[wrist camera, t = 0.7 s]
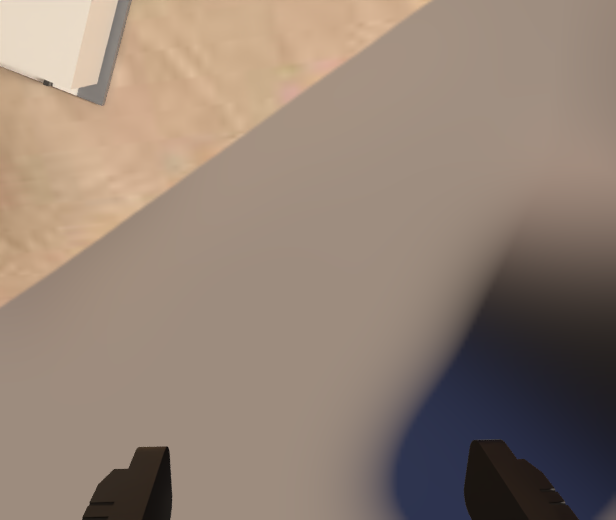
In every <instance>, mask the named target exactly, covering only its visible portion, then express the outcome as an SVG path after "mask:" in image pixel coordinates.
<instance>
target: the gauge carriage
mask: <svg viewBox="0 0 616 520" xmlns="http://www.w3.org/2000/svg"><path fill="white" fill-rule="evenodd" d="M117 3H118V0H0V62H1V63H3V64H6V65H8V66H11V67H14V68H16V69H19V70H21V71H24V72H26V73H29V74H31V75H34V76H37V77H39V78H42V79H44V82H43V84H44V85H46V86H51V83H55V84H57V85H60V86H62V87H65V88H67V89H70V90H72V89H76V88H81V87H85V86H90V85H94V84H97V82H98V78H99V74H100V70H101V66H102V62H103V58H104V54H105V50H106V46H107V42H108V38H109V35H110V31H111V27H112V23H113V19H114V15H115V11H116V7H117Z"/></svg>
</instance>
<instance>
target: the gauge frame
mask: <svg viewBox="0 0 616 520" xmlns="http://www.w3.org/2000/svg"><path fill="white" fill-rule="evenodd" d="M131 1H132V0H118V3H117V7H116V11H115V15H114V19H113V23H112V27H111V31H110V35H109V38H108V42H107V46H106V50H105V54H104V58H103V62H102V66H101V70H100V74H99V78H98V82H97V84H94V85H90V86H85V87H81V88H76V89H72V90H70V89H67V88H65V87H62V86H60V85H57V84H55V83H51V86H52V87H55V88H57V89H60V90H62V91H65V92H68V93H70V94H73V95H75V96H78V97H80V98H83V99H86V100H88V101H91V102H93V103H96V104H98V105H101V106H103V105H104V104H105V101H106V97H107V93H108V89H109V85H110V81H111V78H112V74H113V70H114V66H115V62H116V58H117V55H118V51H119V47H120V43H121V39H122V35H123V32H124V28H125V24H126V20H127V16H128V12H129V8H130V5H131ZM0 66H1V67H3V68H6V69H8V70H11V71H13V72H16V73H19V74H21V75H24V76H26V77H29V78H31V79H34V80H37V81H39V82H42V83H43V82H44V79H42V78H39V77H37V76H34V75H31V74H29V73H26V72H24V71H21V70H19V69H16V68H14V67H11V66H8V65H6V64H3V63H1V62H0Z"/></svg>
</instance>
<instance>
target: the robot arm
mask: <svg viewBox="0 0 616 520" xmlns="http://www.w3.org/2000/svg"><path fill="white" fill-rule="evenodd" d="M464 498H465V503H466V507H467V510H468V513H469V515H470V517H471V519H472V520H579V519H578V518H577V517H576V515H575V514H574V513H573V511H572V510H571V509H570V507H569V506H568V505H566V504H565V501H564V500H563V499H562V497H561V496H560V495H559V493H558V492H555V488H554V487H553V486H552V484H551V483H550V482H549V480H548V479H547V478H546V477H545V475H544V474H543V473H542V472H541V471H539V470H538V469H537V468H536V467H534V466H533V465H532V464H530V463H529V462H528V461H526V460H525V459H516V457H515V456H514V454H513V453H512V451H511V450H510V449H509V447H508V446H507V445H506V443H505V442H504V441H503V440H473V441H472V442H471V445H470V449H469V456H468V463H467V470H466V477H465V484H464ZM171 510H172V486H171V470H170V453H169V448H168V447H138V448H137V450H136V452H135V454H134V457H133V459H132V461H131V464H130V466H129V468H128V469H114V470H113V471H112V472H111V473H110V474H109V475H108V476H107V477H106V478H105V479H103V481H101V483H99V484H98V486H97V488H96V491H95V492H94V494H93V496H92V499H91V501H90V505H89V506H88V507H87V509H86V511H85V513H84V515H83V519H82V520H170V517H171Z"/></svg>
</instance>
